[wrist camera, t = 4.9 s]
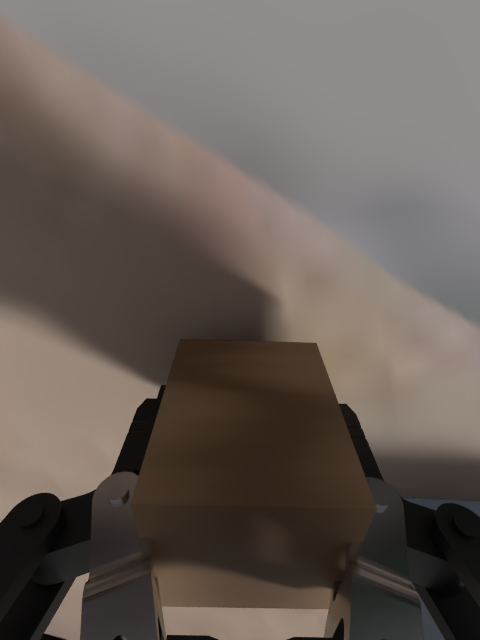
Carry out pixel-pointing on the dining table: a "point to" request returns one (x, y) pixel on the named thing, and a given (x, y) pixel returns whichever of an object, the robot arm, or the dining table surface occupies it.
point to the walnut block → (250, 479)
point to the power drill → (47, 638)
